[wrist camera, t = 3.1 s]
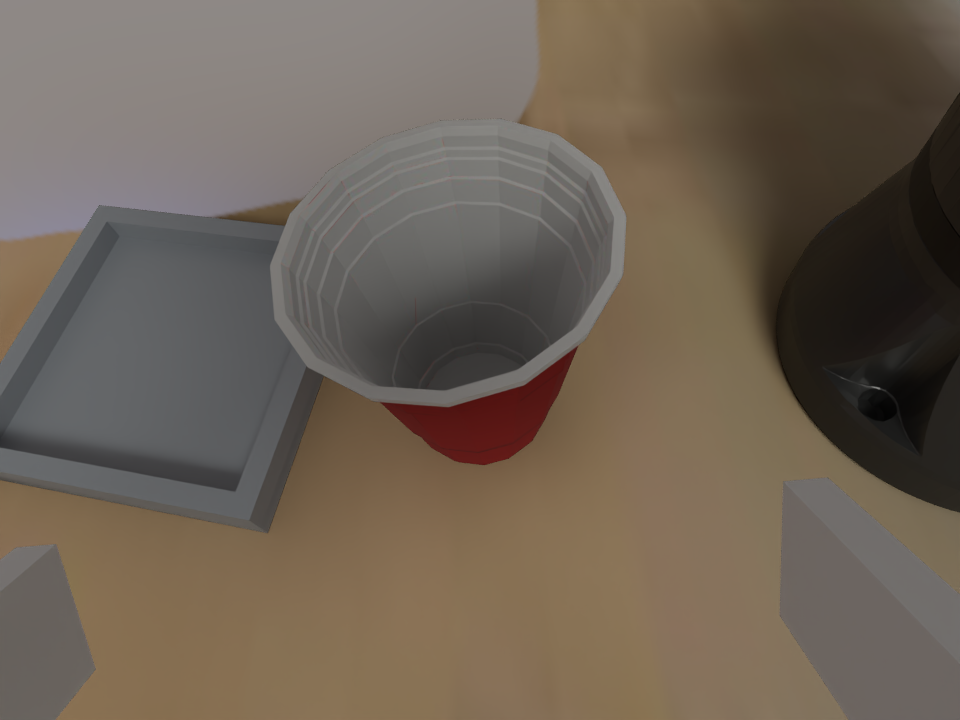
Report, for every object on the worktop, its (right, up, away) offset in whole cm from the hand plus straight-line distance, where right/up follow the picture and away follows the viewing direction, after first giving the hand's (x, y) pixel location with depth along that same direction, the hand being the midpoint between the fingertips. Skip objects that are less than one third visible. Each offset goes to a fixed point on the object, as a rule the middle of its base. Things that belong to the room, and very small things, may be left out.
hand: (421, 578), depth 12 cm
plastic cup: (+1, +2, +18) cm, 18 cm away
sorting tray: (-14, +4, +20) cm, 25 cm away
